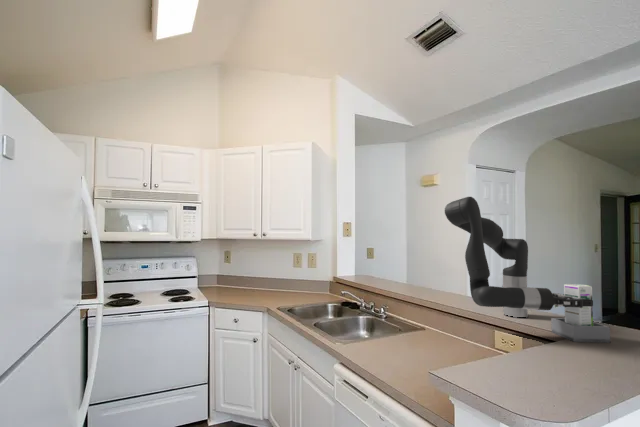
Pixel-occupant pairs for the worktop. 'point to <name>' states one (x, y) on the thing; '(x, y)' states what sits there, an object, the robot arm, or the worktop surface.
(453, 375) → the worktop surface
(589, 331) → the tray
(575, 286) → the syrup box
